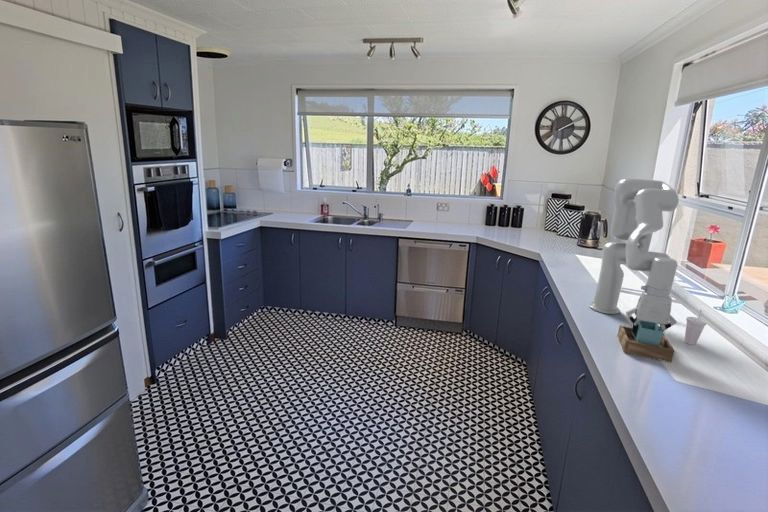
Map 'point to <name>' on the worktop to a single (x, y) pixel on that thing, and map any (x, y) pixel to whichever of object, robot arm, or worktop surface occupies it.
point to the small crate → (649, 333)
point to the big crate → (644, 346)
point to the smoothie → (694, 329)
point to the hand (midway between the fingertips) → (646, 336)
